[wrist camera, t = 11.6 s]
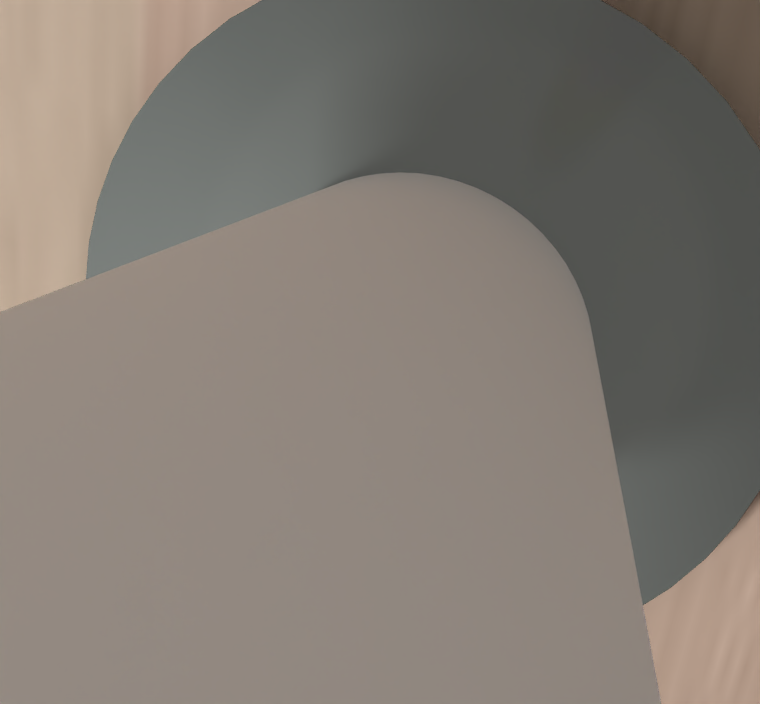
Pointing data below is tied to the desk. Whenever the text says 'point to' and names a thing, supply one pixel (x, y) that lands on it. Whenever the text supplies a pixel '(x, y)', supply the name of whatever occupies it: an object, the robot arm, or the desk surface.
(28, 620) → the cup
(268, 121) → the coaster
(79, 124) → the desk surface
